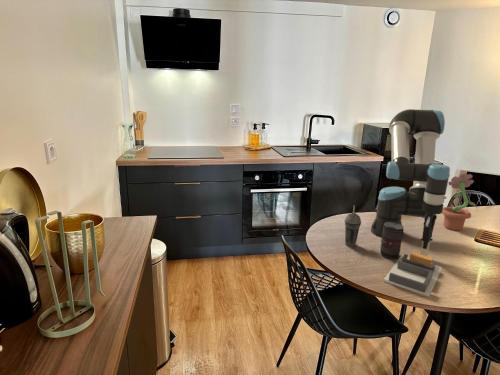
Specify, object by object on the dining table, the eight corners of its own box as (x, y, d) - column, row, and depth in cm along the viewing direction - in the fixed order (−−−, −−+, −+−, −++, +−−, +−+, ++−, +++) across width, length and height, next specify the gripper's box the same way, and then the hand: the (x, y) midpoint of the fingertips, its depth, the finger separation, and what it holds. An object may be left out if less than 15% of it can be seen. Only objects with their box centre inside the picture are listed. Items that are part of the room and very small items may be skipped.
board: (383, 281, 132) (384, 272, 131) (400, 257, 150) (402, 249, 149) (429, 296, 123) (431, 287, 121) (441, 269, 141) (443, 260, 140)
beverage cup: (359, 243, 163) (364, 203, 157) (357, 249, 157) (362, 208, 151) (343, 240, 166) (347, 200, 160) (340, 246, 160) (345, 205, 154)
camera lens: (397, 263, 145) (402, 230, 140) (377, 258, 149) (381, 226, 144) (400, 255, 151) (405, 224, 147) (381, 251, 155) (385, 220, 151)
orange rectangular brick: (409, 261, 145) (410, 254, 144) (411, 258, 147) (412, 251, 147) (430, 267, 141) (431, 260, 140) (431, 264, 143) (432, 257, 142)
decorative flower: (463, 223, 187) (475, 170, 179) (474, 234, 174) (487, 177, 166) (434, 221, 190) (444, 168, 181) (443, 231, 177) (454, 175, 168)
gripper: (440, 208, 134) (430, 263, 141) (446, 200, 144) (436, 251, 151) (419, 204, 138) (410, 257, 145) (426, 196, 148) (418, 246, 155)
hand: (424, 254), depth 148 cm, fingers closed
